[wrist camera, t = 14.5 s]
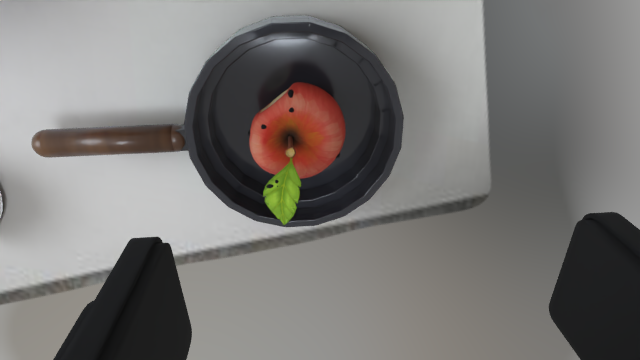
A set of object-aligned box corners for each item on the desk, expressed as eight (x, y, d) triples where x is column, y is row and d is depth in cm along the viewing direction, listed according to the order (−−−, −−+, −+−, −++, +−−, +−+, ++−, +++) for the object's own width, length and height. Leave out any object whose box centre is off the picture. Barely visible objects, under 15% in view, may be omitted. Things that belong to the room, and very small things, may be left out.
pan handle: (198, 119, 30) (192, 129, 28) (202, 144, 31) (197, 155, 29) (36, 126, 30) (21, 136, 28) (46, 151, 30) (31, 162, 29)
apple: (246, 75, 31) (229, 119, 22) (335, 65, 31) (354, 105, 22) (262, 165, 34) (254, 234, 26) (342, 156, 35) (360, 221, 26)
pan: (395, 11, 30) (411, 18, 26) (383, 194, 37) (395, 221, 33) (181, 17, 29) (165, 26, 25) (212, 203, 37) (203, 232, 33)
